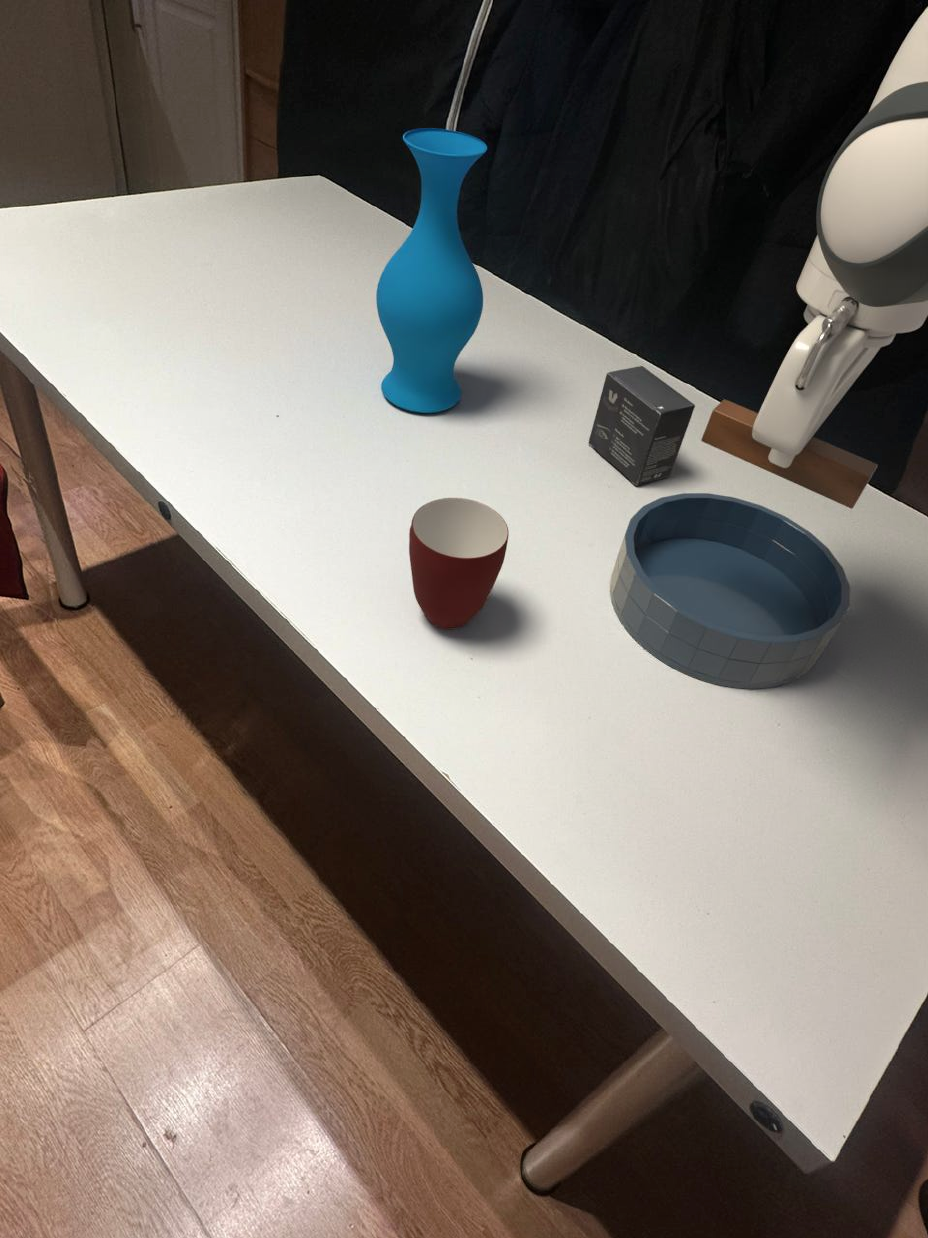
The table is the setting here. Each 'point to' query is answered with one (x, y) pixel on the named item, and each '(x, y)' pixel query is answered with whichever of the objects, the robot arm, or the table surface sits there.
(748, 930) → the table surface
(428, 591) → the mug
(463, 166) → the vase
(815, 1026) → the table surface
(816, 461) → the stick
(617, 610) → the bowl
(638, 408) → the box
